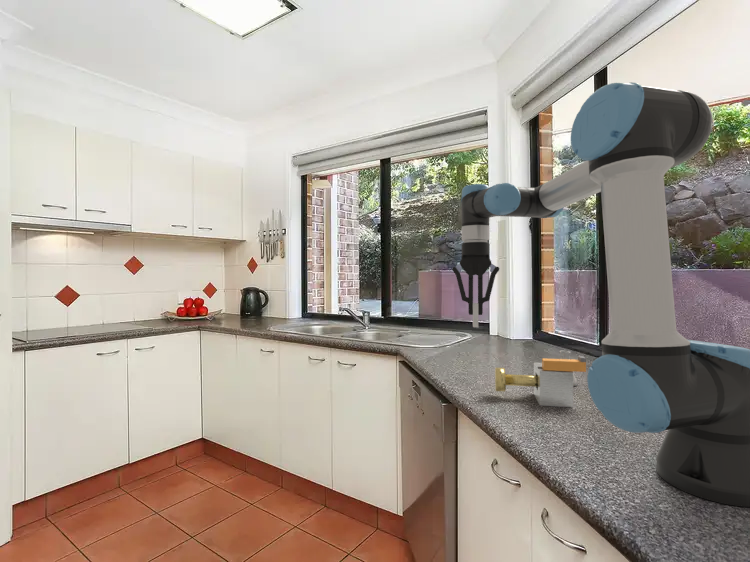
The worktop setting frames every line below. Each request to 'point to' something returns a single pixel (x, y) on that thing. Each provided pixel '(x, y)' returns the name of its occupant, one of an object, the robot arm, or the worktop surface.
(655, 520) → the worktop surface
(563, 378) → the block
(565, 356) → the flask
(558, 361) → the bar
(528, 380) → the pin
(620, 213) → the robot arm
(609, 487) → the worktop surface
